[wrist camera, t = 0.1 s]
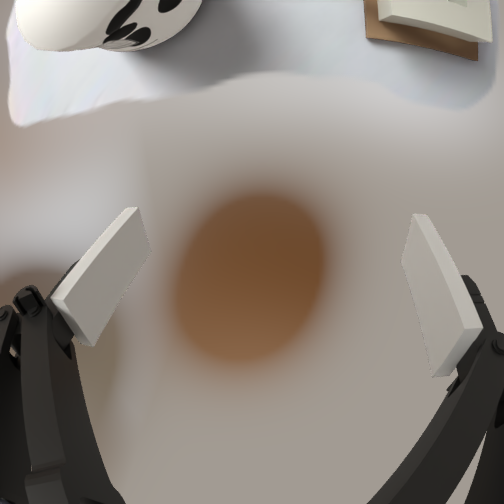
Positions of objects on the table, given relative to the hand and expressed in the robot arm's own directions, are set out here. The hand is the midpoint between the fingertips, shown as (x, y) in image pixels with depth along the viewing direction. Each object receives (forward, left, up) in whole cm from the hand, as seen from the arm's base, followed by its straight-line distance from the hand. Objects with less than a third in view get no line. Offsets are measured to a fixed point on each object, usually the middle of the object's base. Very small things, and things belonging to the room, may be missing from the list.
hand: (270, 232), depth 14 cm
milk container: (-20, -17, -28) cm, 39 cm away
